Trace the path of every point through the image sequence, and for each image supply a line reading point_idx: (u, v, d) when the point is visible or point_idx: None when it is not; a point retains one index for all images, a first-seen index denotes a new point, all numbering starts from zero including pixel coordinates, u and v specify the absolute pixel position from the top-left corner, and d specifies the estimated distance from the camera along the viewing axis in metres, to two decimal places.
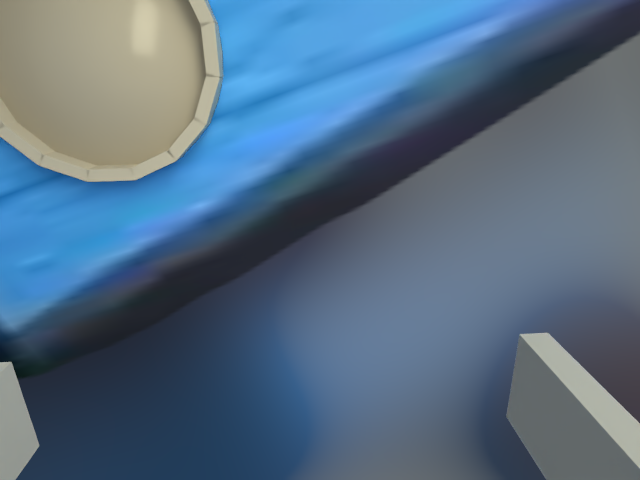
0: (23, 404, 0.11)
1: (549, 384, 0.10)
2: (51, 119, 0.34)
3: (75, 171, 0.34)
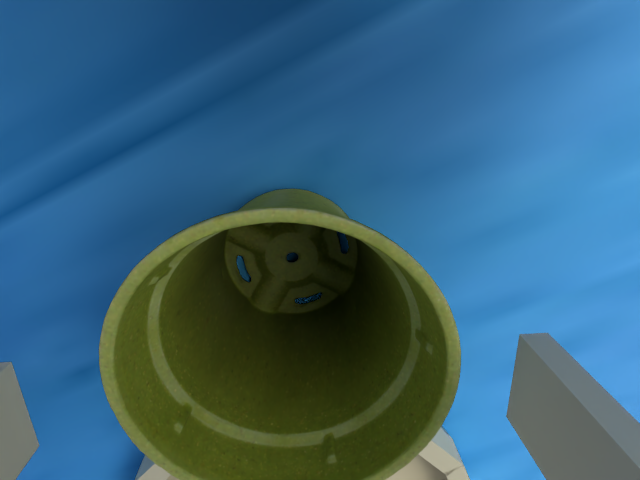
0: (23, 404, 0.11)
1: (549, 384, 0.10)
2: None
3: None
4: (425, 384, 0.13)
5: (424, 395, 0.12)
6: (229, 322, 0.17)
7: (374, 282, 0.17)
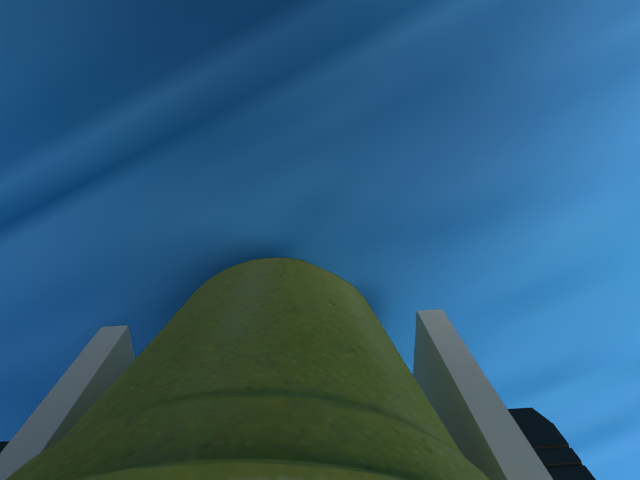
0: None
1: (431, 351, 0.11)
2: None
3: None
4: None
5: None
6: None
7: None
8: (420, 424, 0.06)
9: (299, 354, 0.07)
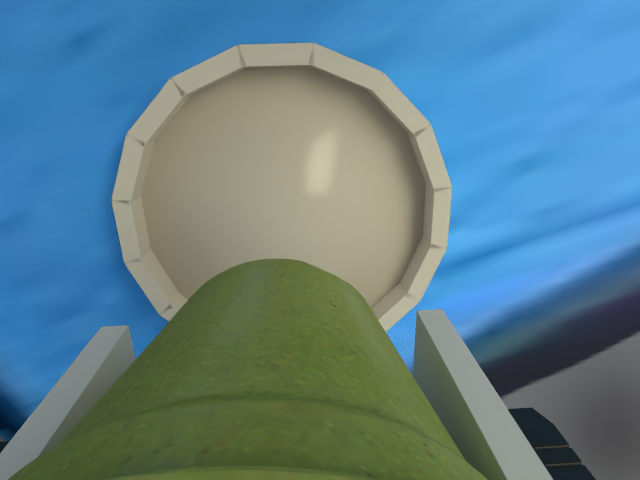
0: None
1: (431, 352, 0.11)
2: None
3: None
4: None
5: None
6: None
7: None
8: (421, 428, 0.06)
9: (299, 357, 0.06)
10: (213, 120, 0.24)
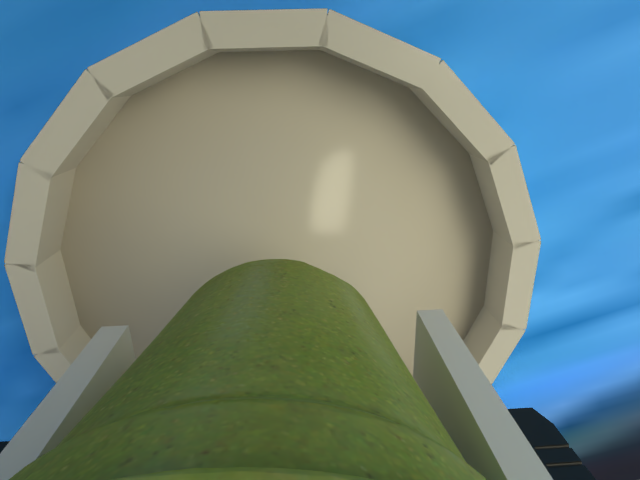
0: None
1: (431, 351, 0.11)
2: None
3: None
4: None
5: None
6: None
7: None
8: (421, 429, 0.06)
9: (299, 358, 0.06)
10: (167, 137, 0.15)
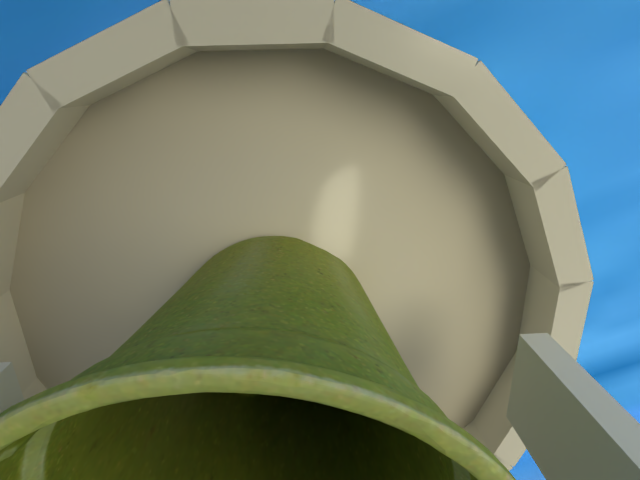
0: None
1: (549, 384, 0.10)
2: None
3: None
4: None
5: None
6: (188, 422, 0.13)
7: None
8: (381, 361, 0.07)
9: (286, 307, 0.08)
10: (136, 155, 0.12)
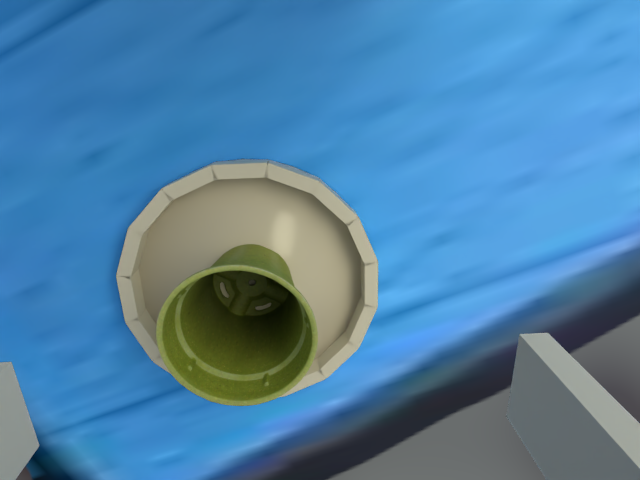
0: (23, 405, 0.11)
1: (549, 384, 0.10)
2: None
3: None
4: (308, 343, 0.26)
5: (307, 347, 0.26)
6: (216, 320, 0.31)
7: (294, 295, 0.30)
8: None
9: (250, 262, 0.27)
10: (194, 213, 0.31)
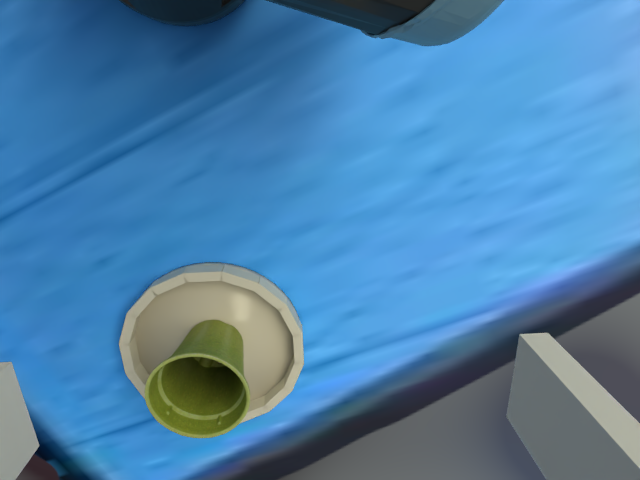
0: (23, 405, 0.11)
1: (549, 384, 0.10)
2: None
3: None
4: (245, 397, 0.40)
5: (244, 401, 0.40)
6: (188, 373, 0.45)
7: (242, 358, 0.44)
8: (224, 353, 0.39)
9: (208, 343, 0.40)
10: (173, 299, 0.44)
